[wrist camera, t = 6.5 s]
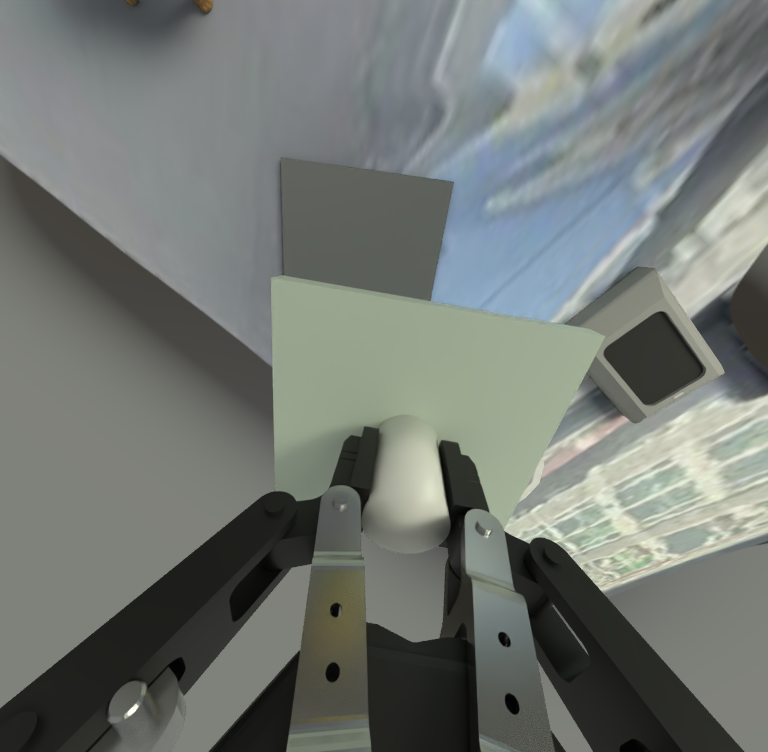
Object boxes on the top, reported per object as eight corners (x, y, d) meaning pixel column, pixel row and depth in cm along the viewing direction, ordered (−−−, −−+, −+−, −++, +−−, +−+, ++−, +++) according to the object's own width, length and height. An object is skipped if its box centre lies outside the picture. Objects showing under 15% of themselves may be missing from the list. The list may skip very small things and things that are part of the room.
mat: (452, 182, 26) (453, 181, 25) (420, 345, 33) (421, 346, 32) (282, 159, 26) (280, 157, 26) (286, 325, 33) (285, 326, 32)
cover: (590, 328, 12) (727, 393, 7) (489, 531, 17) (523, 647, 12) (281, 275, 12) (187, 298, 7) (282, 495, 17) (231, 596, 12)
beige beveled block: (666, 269, 25) (738, 377, 28) (635, 266, 28) (703, 363, 32) (567, 343, 28) (643, 430, 32) (550, 332, 31) (620, 413, 35)
